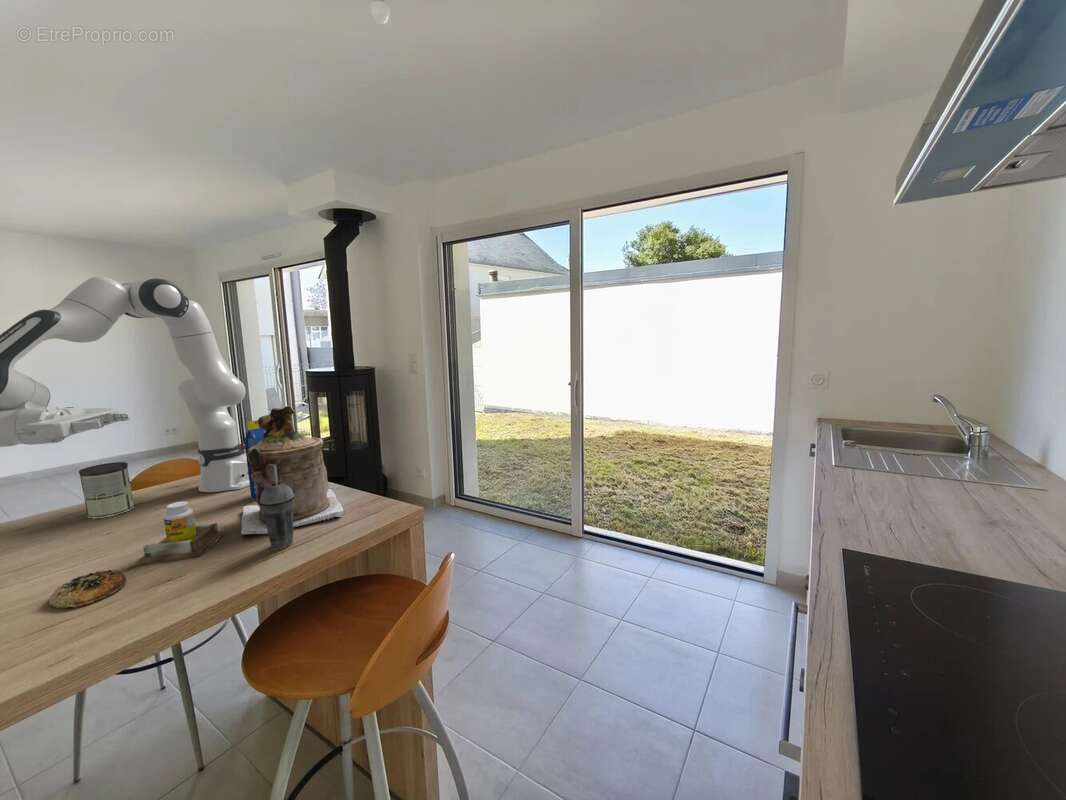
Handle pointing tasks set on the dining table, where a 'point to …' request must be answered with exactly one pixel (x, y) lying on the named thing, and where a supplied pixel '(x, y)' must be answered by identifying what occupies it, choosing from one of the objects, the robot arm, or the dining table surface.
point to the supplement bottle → (179, 522)
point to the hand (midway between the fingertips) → (115, 420)
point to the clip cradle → (182, 545)
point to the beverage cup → (278, 513)
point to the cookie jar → (289, 473)
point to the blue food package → (251, 440)
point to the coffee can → (106, 489)
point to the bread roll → (88, 589)
